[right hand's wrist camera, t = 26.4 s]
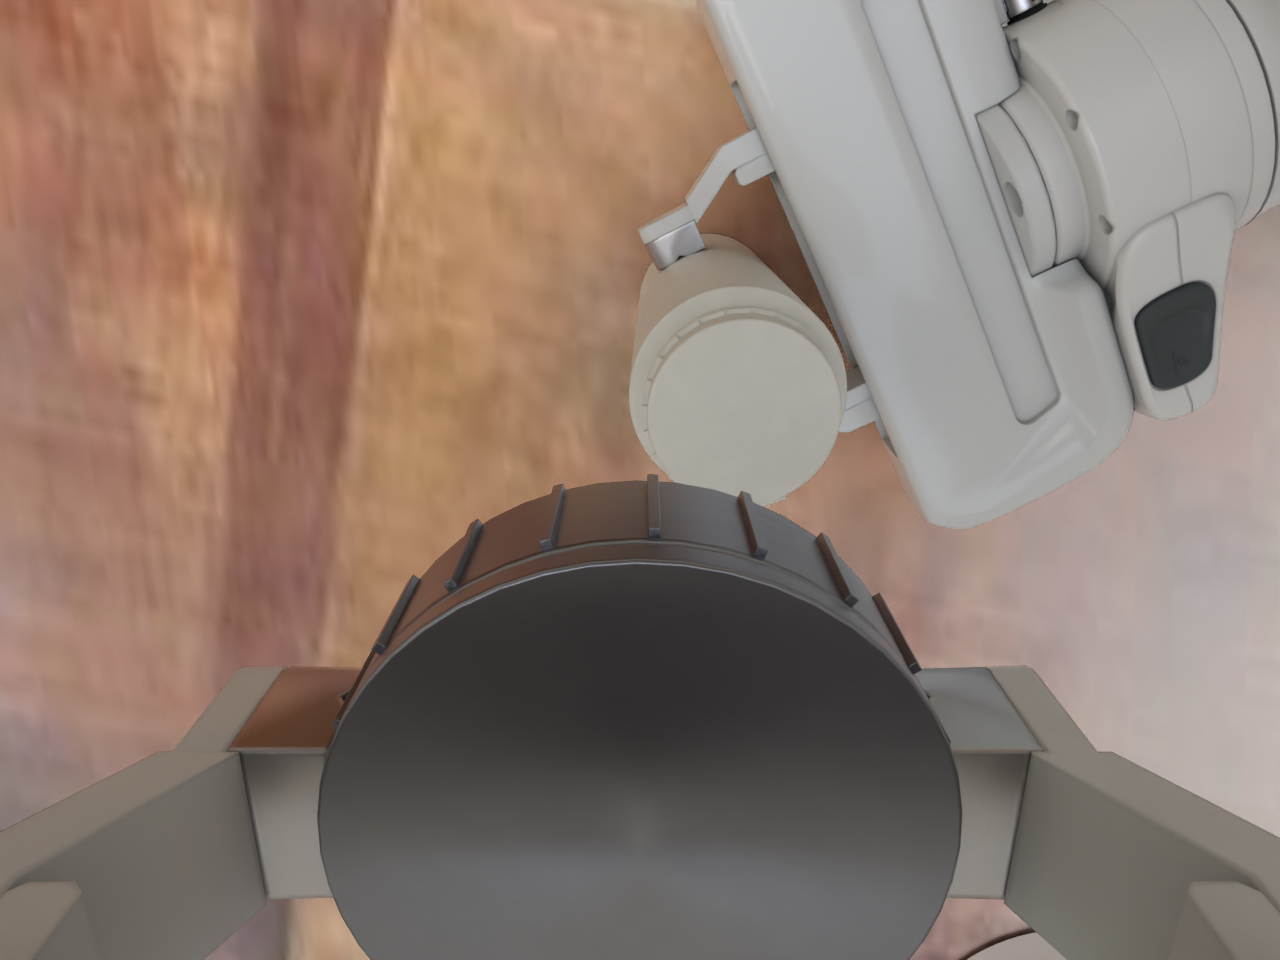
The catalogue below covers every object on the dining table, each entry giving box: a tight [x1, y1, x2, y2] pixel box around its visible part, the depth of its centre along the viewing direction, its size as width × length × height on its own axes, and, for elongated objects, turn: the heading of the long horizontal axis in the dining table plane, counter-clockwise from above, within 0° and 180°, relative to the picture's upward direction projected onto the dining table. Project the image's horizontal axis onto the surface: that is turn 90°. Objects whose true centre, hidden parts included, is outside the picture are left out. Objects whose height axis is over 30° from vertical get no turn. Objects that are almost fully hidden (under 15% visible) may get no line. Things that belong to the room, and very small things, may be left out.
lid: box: [317, 474, 962, 960], centre depth 9 cm, size 6×6×2 cm
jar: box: [629, 233, 847, 507], centre depth 28 cm, size 5×5×16 cm
